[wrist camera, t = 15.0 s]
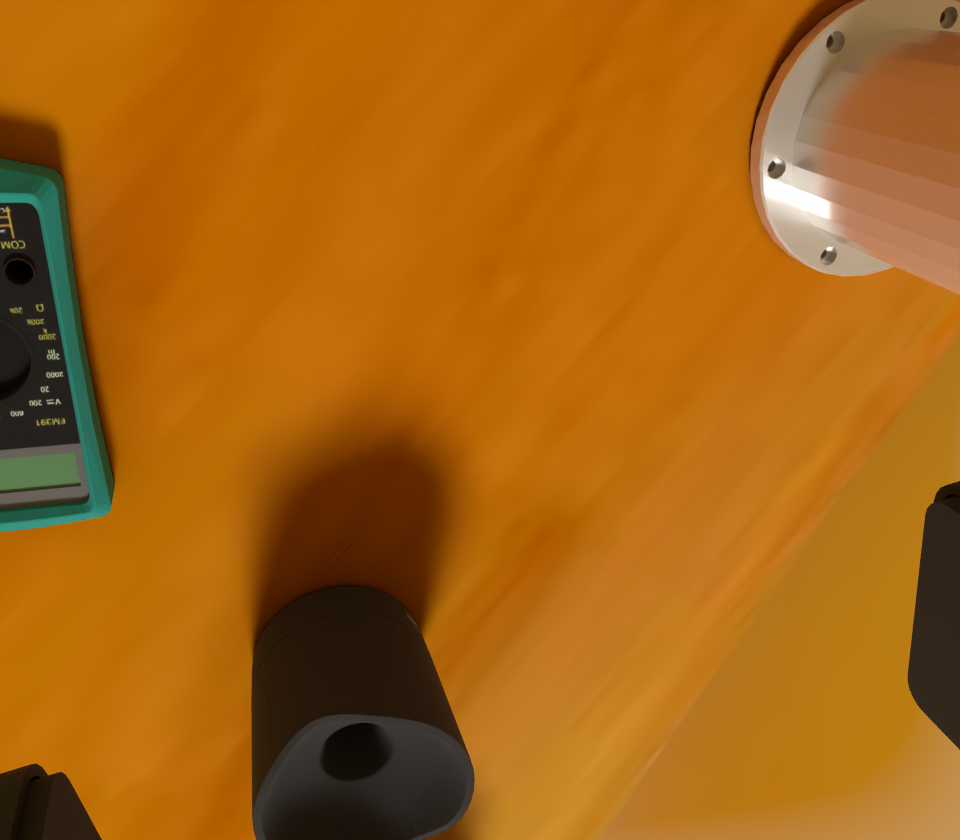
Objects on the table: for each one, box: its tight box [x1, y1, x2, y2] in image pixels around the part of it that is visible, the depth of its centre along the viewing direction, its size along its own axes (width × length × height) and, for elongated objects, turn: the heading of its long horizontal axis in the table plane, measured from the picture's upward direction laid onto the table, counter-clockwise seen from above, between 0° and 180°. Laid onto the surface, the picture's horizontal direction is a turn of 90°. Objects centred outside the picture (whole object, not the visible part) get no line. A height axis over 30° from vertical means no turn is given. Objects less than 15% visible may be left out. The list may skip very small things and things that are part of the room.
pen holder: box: [251, 586, 474, 840], centre depth 42 cm, size 9×9×10 cm
